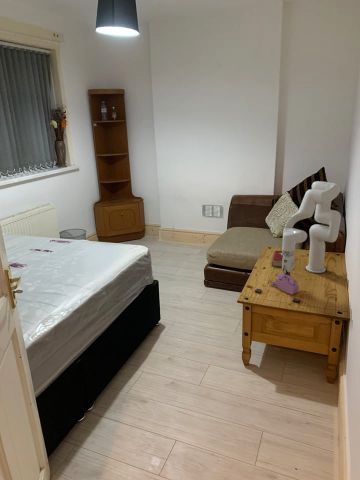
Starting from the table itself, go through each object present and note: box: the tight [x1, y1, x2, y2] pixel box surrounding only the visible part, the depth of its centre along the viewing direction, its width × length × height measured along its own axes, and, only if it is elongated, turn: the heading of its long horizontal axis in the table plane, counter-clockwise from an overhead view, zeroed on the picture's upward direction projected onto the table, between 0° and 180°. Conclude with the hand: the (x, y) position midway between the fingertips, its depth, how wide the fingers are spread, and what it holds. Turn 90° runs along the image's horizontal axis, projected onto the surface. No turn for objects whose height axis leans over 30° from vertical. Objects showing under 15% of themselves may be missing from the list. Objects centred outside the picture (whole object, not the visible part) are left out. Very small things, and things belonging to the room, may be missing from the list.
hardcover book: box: [271, 249, 283, 268], centre depth 257 cm, size 12×21×4 cm, turn 162°
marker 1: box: [254, 288, 263, 294], centre depth 216 cm, size 3×3×1 cm
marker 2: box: [292, 297, 301, 304], centre depth 204 cm, size 3×3×1 cm
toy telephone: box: [270, 272, 299, 295], centre depth 217 cm, size 18×6×10 cm, turn 32°
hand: (286, 279), depth 221 cm, fingers closed
